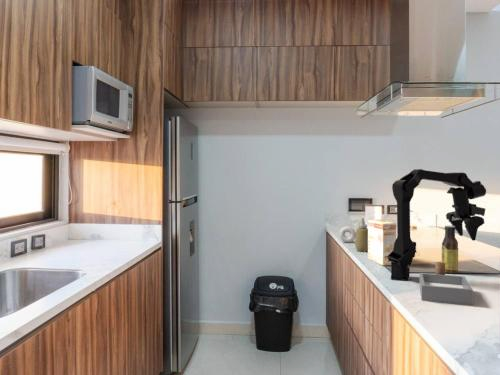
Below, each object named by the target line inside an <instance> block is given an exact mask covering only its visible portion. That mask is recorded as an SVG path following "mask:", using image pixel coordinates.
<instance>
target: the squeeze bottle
mask: <svg viewBox="0 0 500 375" xmlns="http://www.w3.org/2000/svg"><path fill="white" fill-rule="evenodd" d="M355 232H356V237H355V239H354V245H355V248H356V251H358V252H360V253H361V252H362V253H363V252H365V253H366V252H368V224H365V218H364V217H361V219H360V223H358V224H357V228H356V229H355Z"/></svg>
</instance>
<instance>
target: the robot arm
mask: <svg viewBox="0 0 500 375" xmlns="http://www.w3.org/2000/svg"><path fill="white" fill-rule="evenodd" d="M422 180H425V181H430V182H431V181H432V182H440V183H443V184H445V185H447V186H450V187H449V189H448V190H447V191H446V194H452V202H453V204H452V205H451V208H453V209H454V211H450V212H447V213H446V215H445V217H446V220H447V221H448V223H450V224H451V226H455V232H457V233H458V235H459V236H460V237H463V235H464V229H463V223H464V228H465V230H466V232H467V234H468V235H469V237H470V239H471V241H473V242H474V241H476V239H477V238H476V237H477V235H478V234H477V233H478V230H479V228H480V227H481V226H483V225H484V224H485V218H483V217H485V213H486V208H484V207H480V206H477V204H476V203H471V202H470V200H474V199H478V198H482V197H485V196H486V194H487V188H486V187H485V186H484V185H483V183H482V182H481V181H480V180H475V181H472V180H471V179H470V178H469V176H468V174H467V173H466V172H439V171H433V170H425V169H423V168H420V169H419V168H417V169H413V170H411V171H410V172H409V173H407V174H406V175H404V176H402V177H401V178H399V179H397V180H395V181H394V182H393V183H392V185H391V190H392V194H393V197H394V200H395V201H396V216H397V218H396V222H397V223H396V241H395V243H394V248H393V251H392V252H391V253H390V254H389V255H388V260H389V261H391V265H390V267H391V268H390V270H391V271H390V279H391V280H397V281H409V279H410V270H411V268H410V266H411V265H412V262H413V259H414V258H415V256H416V253H418V252H417V242H416V241H412V239H411V200H413V197H414V194H415V193H414V192H415V189H416V188H417V187H418V186H419V185H420V184H421V181H422Z"/></svg>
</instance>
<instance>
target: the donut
mask: <svg viewBox="0 0 500 375" xmlns="http://www.w3.org/2000/svg"><path fill="white" fill-rule="evenodd" d="M347 232H348V233H349V234H350V235H349V236H346V233H347ZM338 233H339V234H338V235H339V236H338V237H339V239H340V240H341V241H342V242H344V243H347V244H348V243H352V242H353V241H355V238H356V229H354V228H353V227H352V226H344V227H342V228H340V231H339V232H338Z"/></svg>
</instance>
